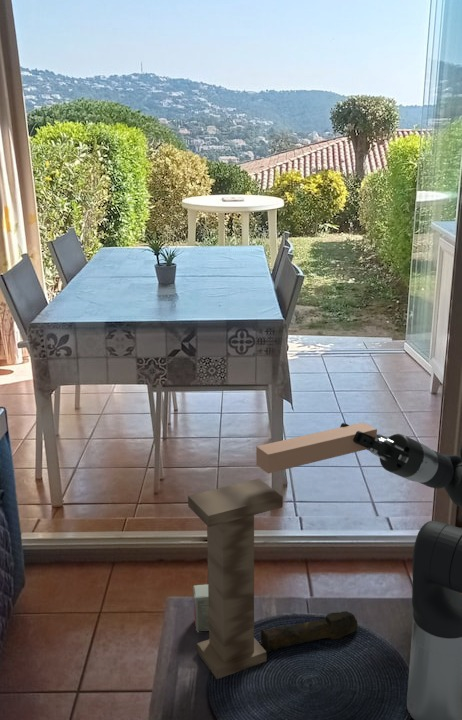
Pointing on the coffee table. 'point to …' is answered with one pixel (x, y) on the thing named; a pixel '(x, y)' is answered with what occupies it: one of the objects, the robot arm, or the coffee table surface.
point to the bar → (311, 448)
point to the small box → (201, 607)
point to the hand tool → (309, 631)
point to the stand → (232, 572)
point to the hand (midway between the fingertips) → (348, 432)
